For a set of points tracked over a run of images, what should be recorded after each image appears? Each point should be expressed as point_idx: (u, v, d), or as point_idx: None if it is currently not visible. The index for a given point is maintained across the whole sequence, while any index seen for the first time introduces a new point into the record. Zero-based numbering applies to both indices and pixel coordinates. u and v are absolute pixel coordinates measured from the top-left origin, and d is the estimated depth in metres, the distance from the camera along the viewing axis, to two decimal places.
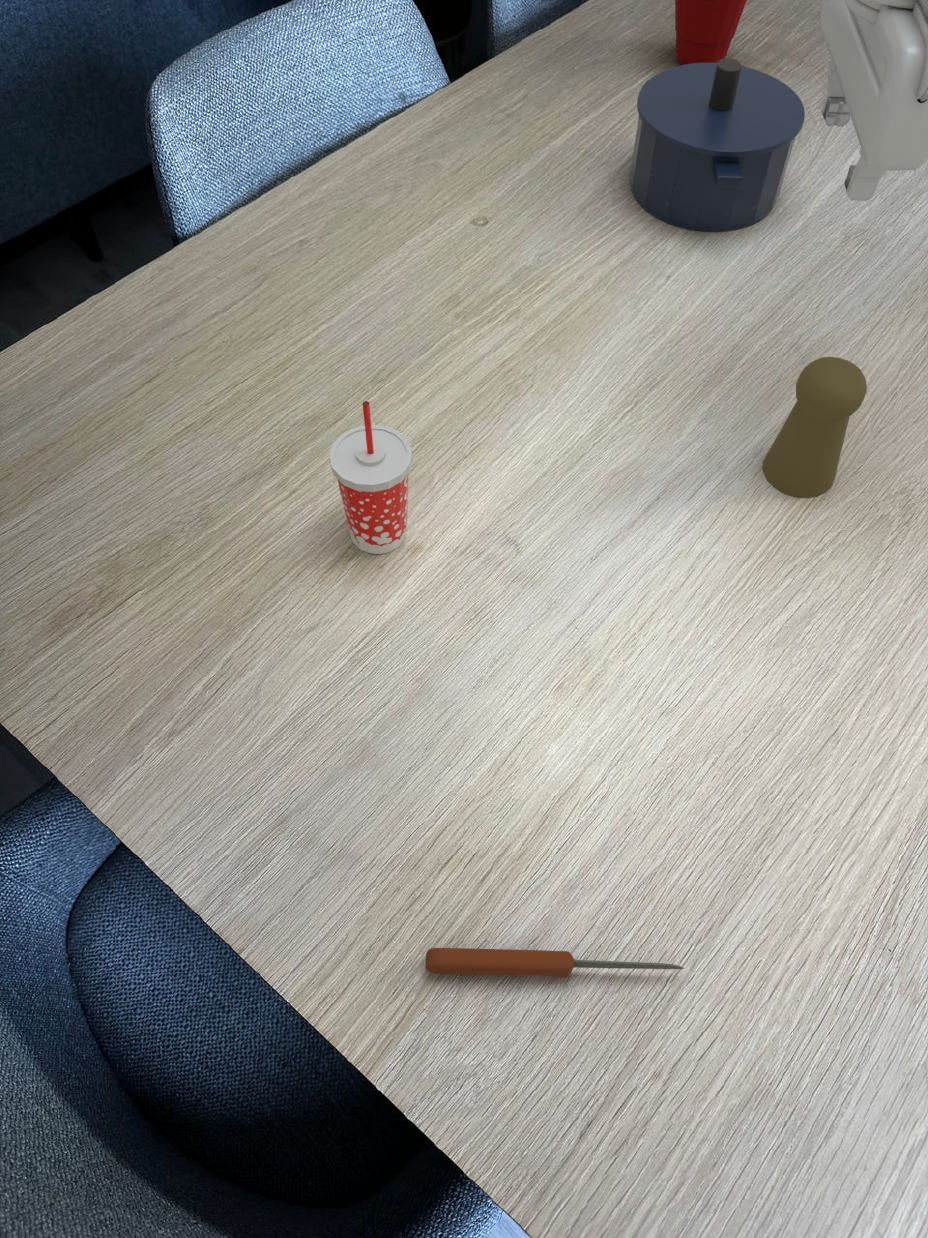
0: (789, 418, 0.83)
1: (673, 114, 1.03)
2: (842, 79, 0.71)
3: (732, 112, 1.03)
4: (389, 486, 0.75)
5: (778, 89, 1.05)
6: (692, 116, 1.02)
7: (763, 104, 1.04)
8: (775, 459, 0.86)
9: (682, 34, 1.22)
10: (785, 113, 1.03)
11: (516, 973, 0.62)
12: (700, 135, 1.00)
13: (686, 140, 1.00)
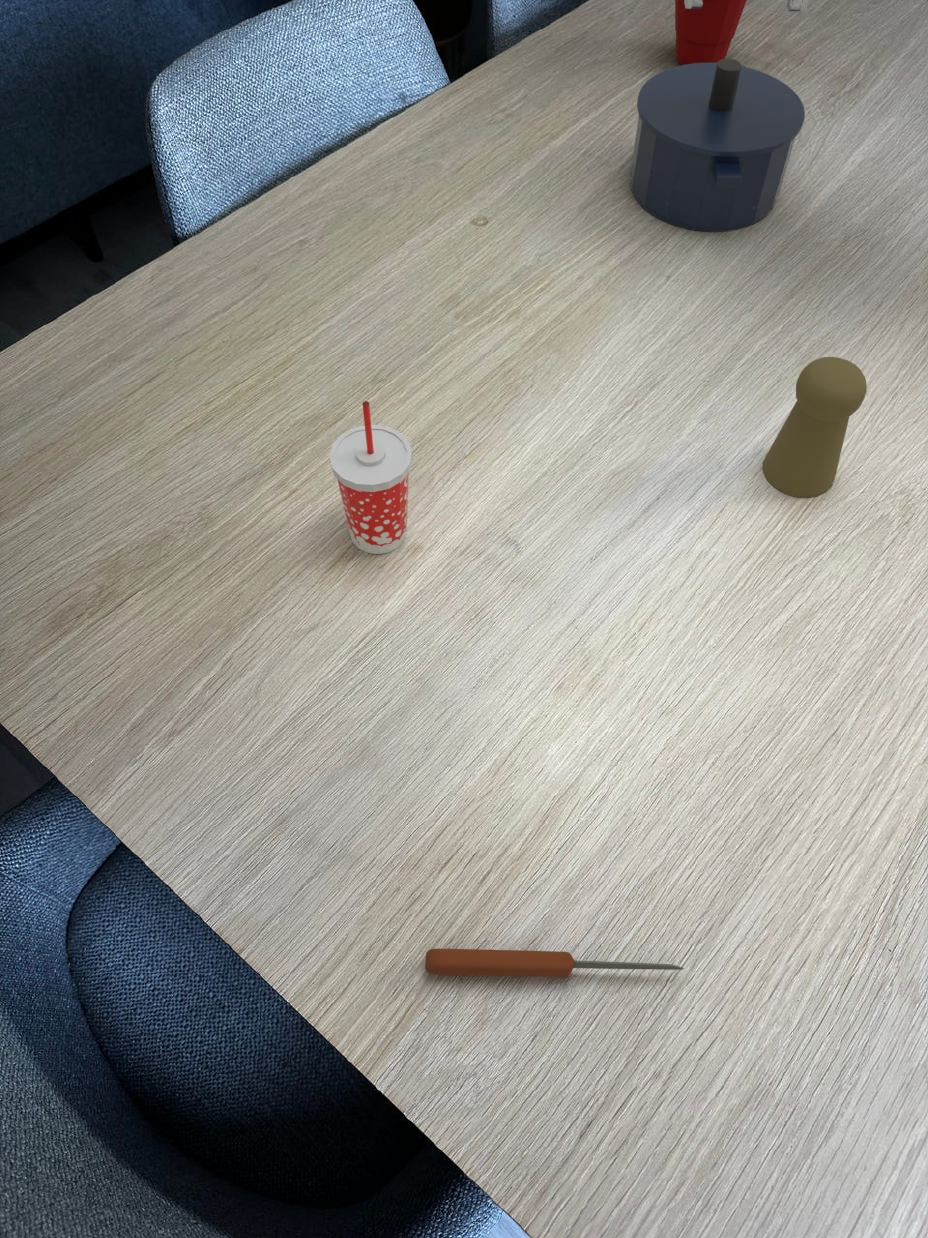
0: (789, 418, 0.83)
1: (673, 114, 1.03)
2: None
3: (732, 112, 1.03)
4: (389, 486, 0.75)
5: (778, 89, 1.05)
6: (692, 116, 1.02)
7: (763, 104, 1.04)
8: (775, 459, 0.86)
9: (682, 34, 1.22)
10: (785, 113, 1.03)
11: (516, 974, 0.62)
12: (700, 135, 1.00)
13: (686, 140, 1.00)
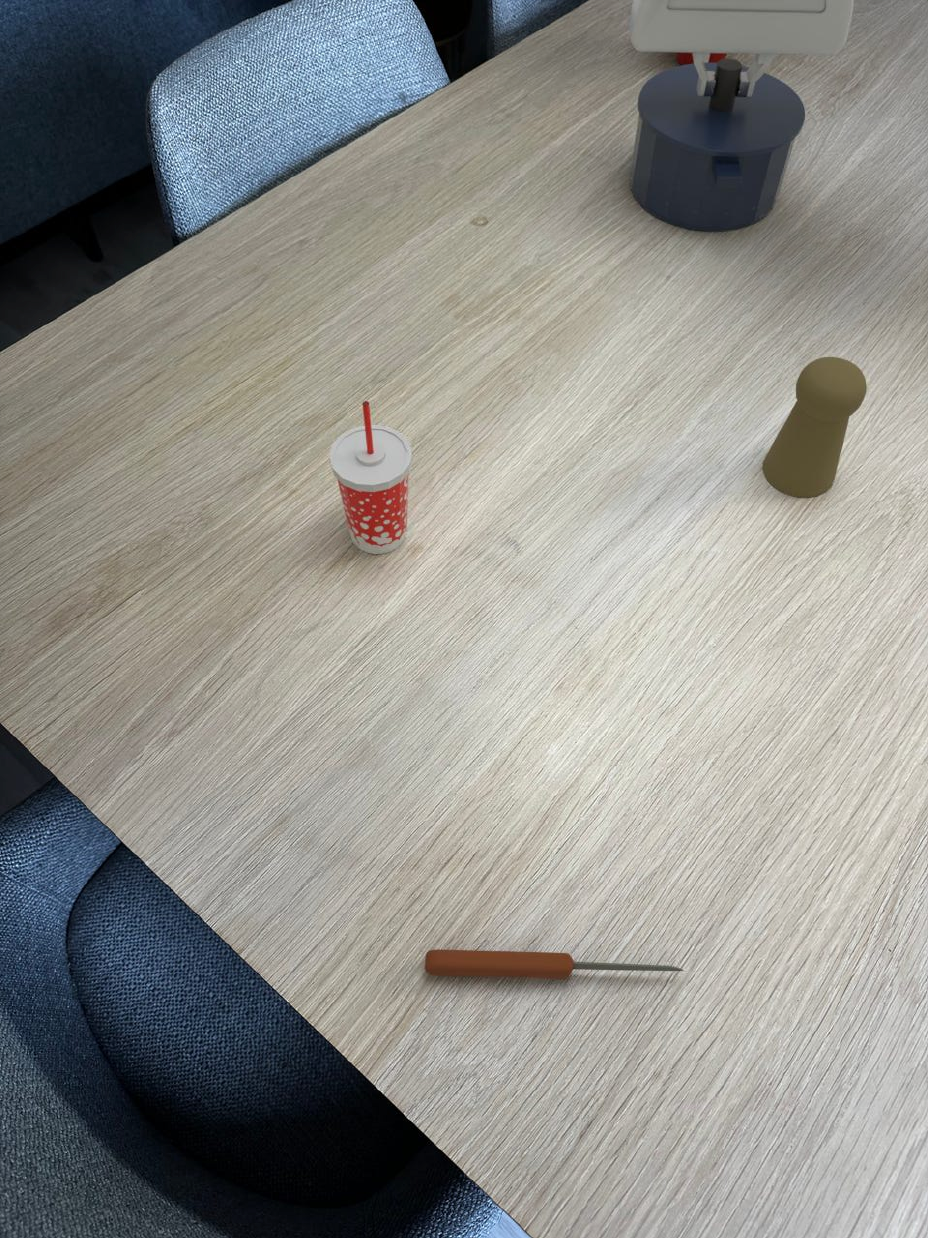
0: (789, 418, 0.83)
1: (674, 114, 1.03)
2: (736, 46, 0.97)
3: (732, 112, 1.03)
4: (389, 486, 0.75)
5: (778, 89, 1.05)
6: (693, 116, 1.02)
7: (763, 104, 1.04)
8: (775, 459, 0.86)
9: None
10: (785, 113, 1.03)
11: (515, 975, 0.62)
12: (700, 135, 1.00)
13: (686, 140, 1.00)
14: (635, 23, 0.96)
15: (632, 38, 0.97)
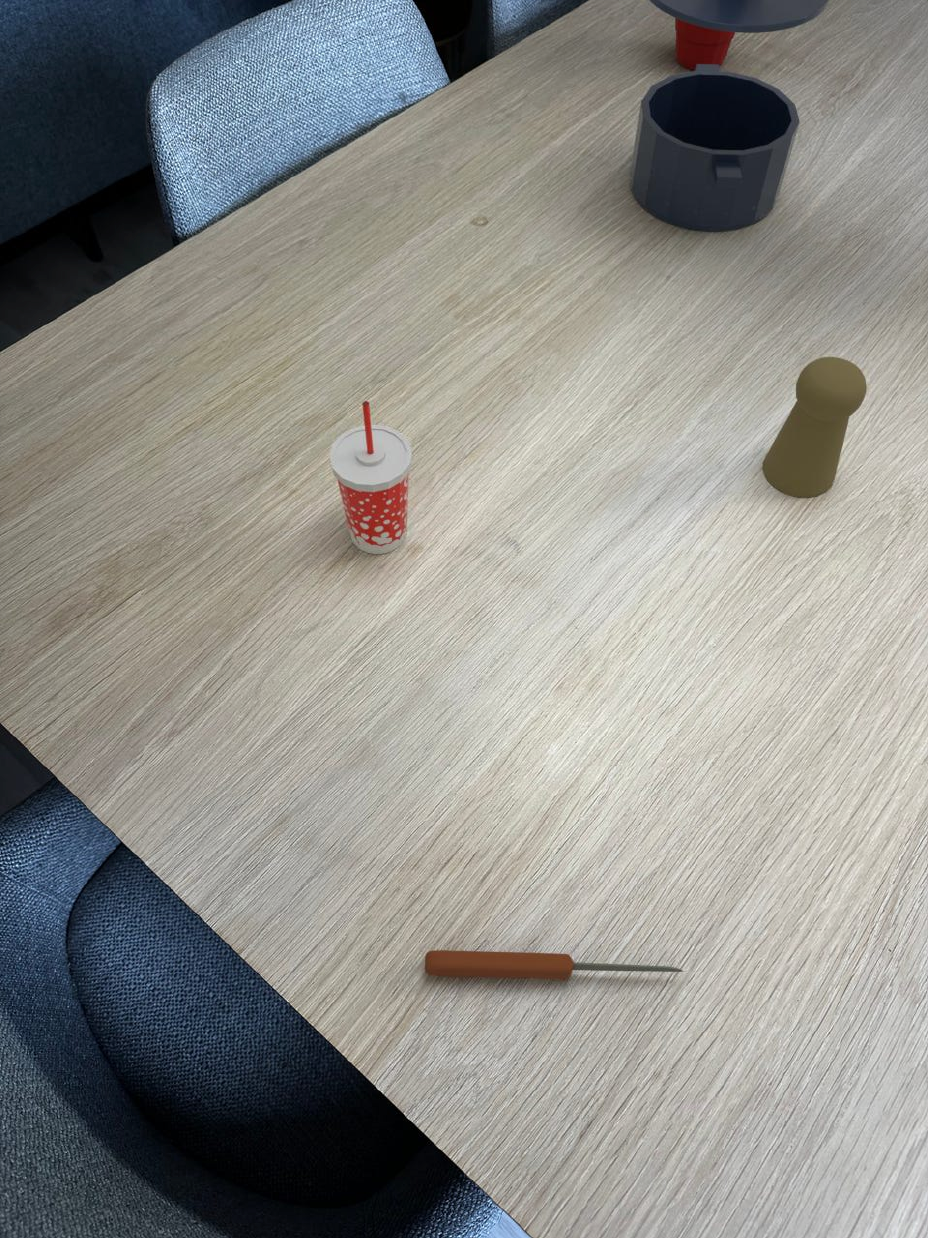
0: (789, 418, 0.83)
1: None
2: None
3: None
4: (389, 486, 0.75)
5: None
6: None
7: None
8: (775, 459, 0.86)
9: (682, 34, 1.22)
10: None
11: (515, 976, 0.62)
12: (712, 9, 0.88)
13: (696, 14, 0.88)
14: None
15: None
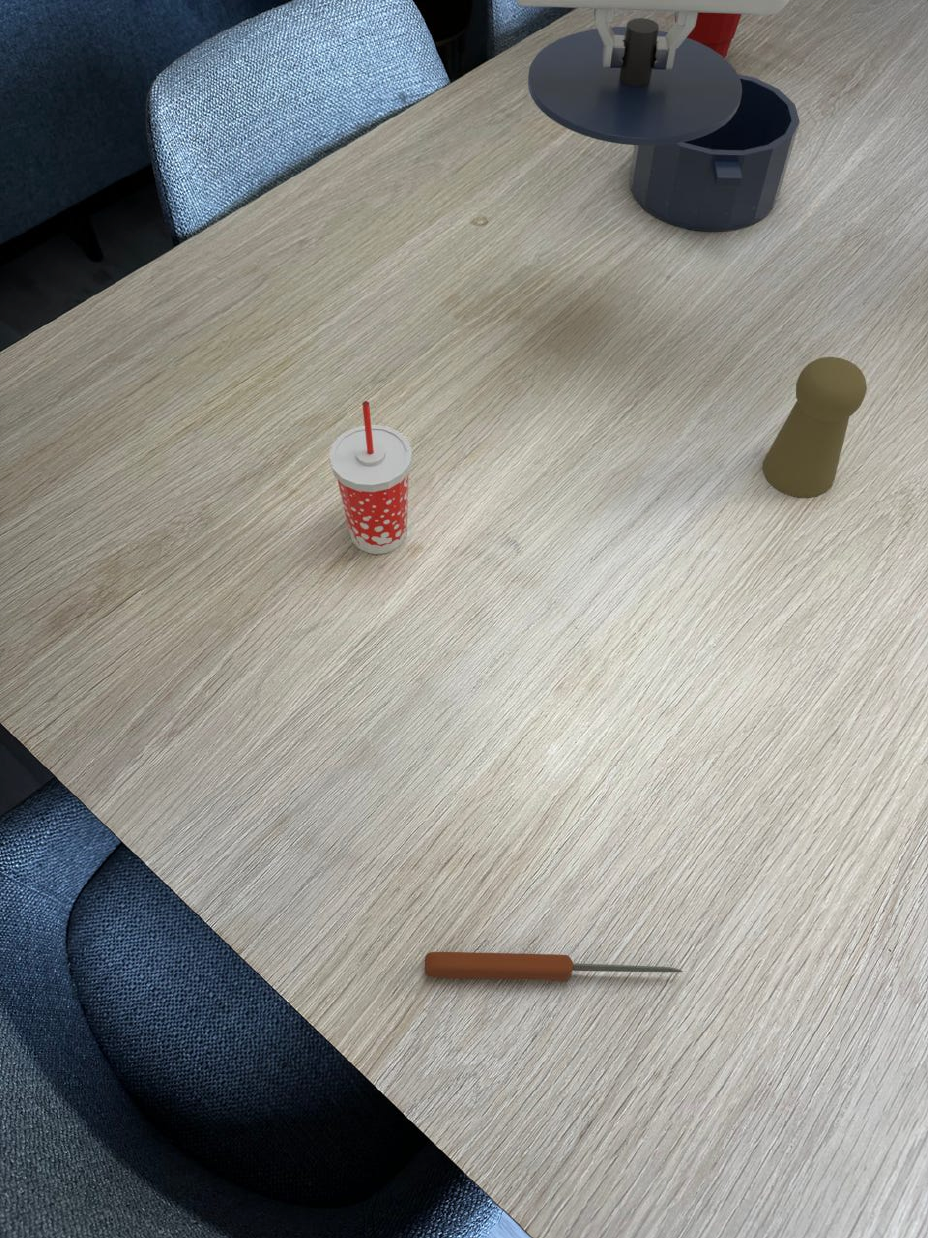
0: (789, 418, 0.83)
1: (572, 90, 0.80)
2: (647, 0, 0.74)
3: (648, 88, 0.80)
4: (389, 486, 0.75)
5: (710, 60, 0.82)
6: (596, 93, 0.79)
7: (689, 79, 0.81)
8: (775, 459, 0.86)
9: None
10: (716, 91, 0.80)
11: (515, 977, 0.62)
12: (603, 117, 0.77)
13: (585, 123, 0.77)
14: None
15: None
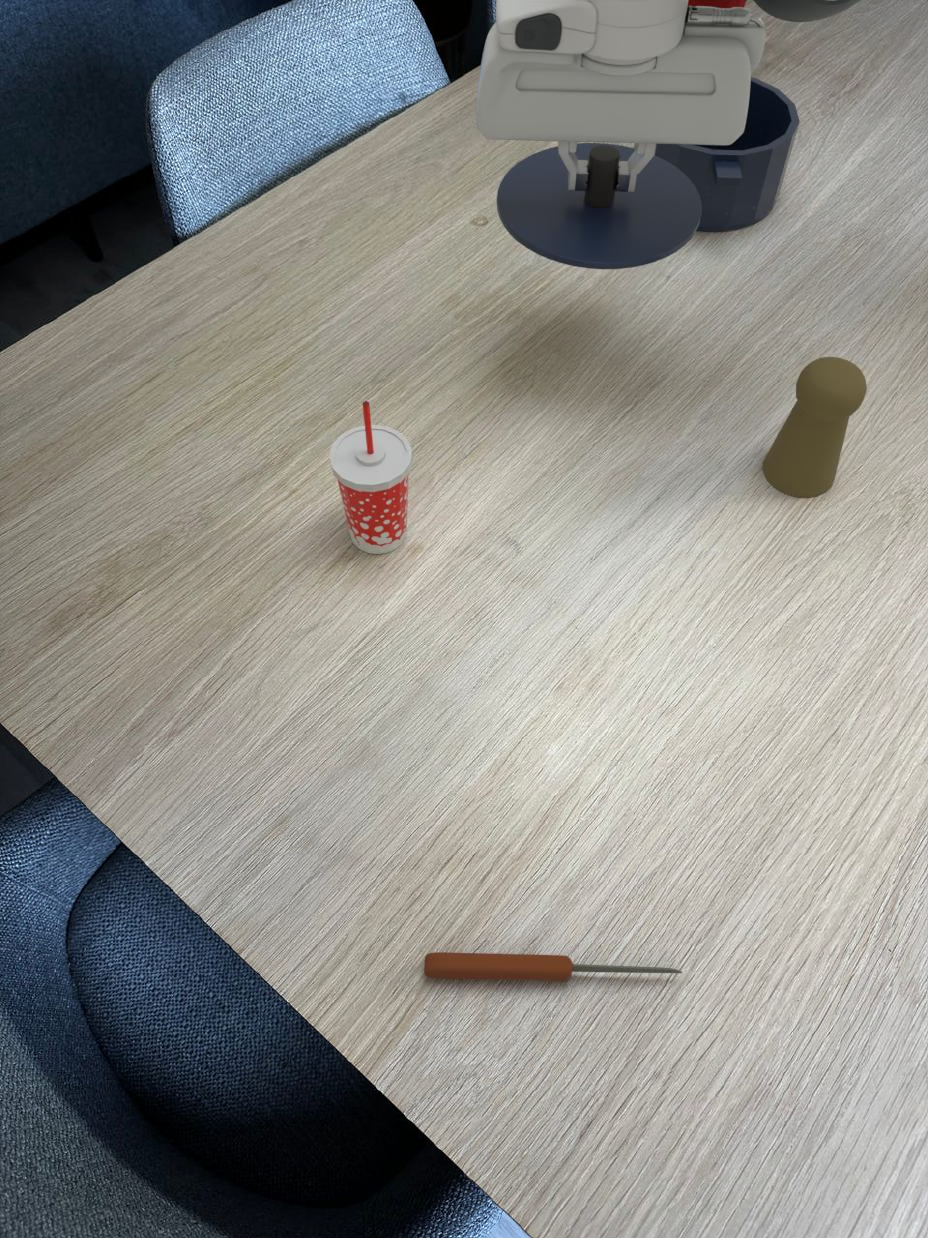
0: (789, 418, 0.83)
1: (539, 212, 0.83)
2: (607, 134, 0.78)
3: (612, 209, 0.83)
4: (389, 486, 0.75)
5: (672, 178, 0.86)
6: (562, 215, 0.83)
7: (651, 198, 0.84)
8: (775, 459, 0.86)
9: None
10: (677, 211, 0.83)
11: (515, 977, 0.62)
12: (568, 241, 0.81)
13: (550, 248, 0.80)
14: (478, 107, 0.76)
15: (477, 124, 0.77)
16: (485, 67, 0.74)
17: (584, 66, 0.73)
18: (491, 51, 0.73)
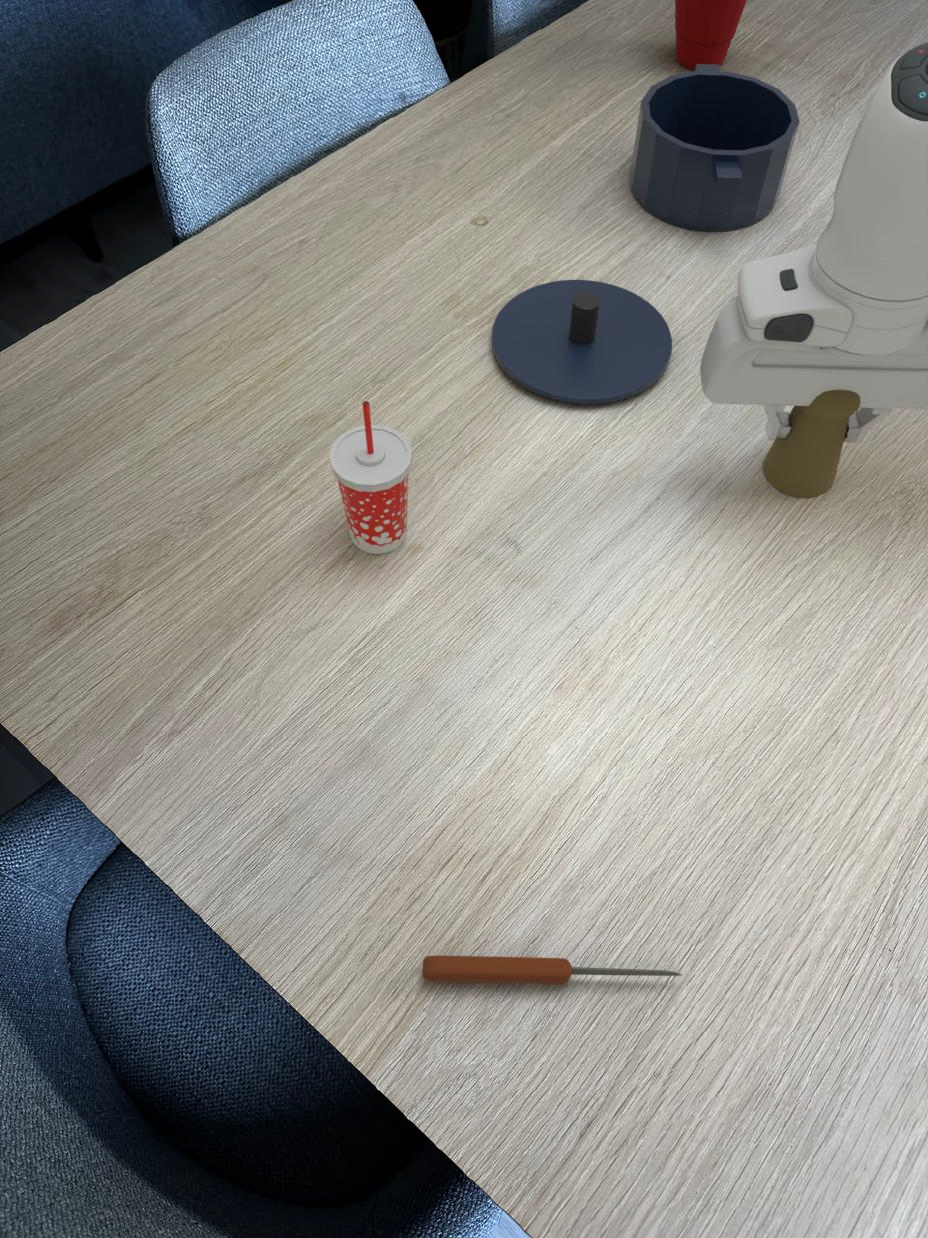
0: (789, 418, 0.83)
1: (529, 349, 0.94)
2: None
3: (593, 346, 0.95)
4: (389, 486, 0.75)
5: (646, 315, 0.97)
6: (549, 352, 0.94)
7: (628, 335, 0.96)
8: (775, 459, 0.86)
9: (682, 34, 1.22)
10: (650, 347, 0.95)
11: (513, 981, 0.62)
12: (554, 378, 0.92)
13: (538, 384, 0.92)
14: (711, 379, 0.77)
15: (706, 392, 0.79)
16: (725, 349, 0.75)
17: (824, 349, 0.75)
18: (733, 336, 0.74)
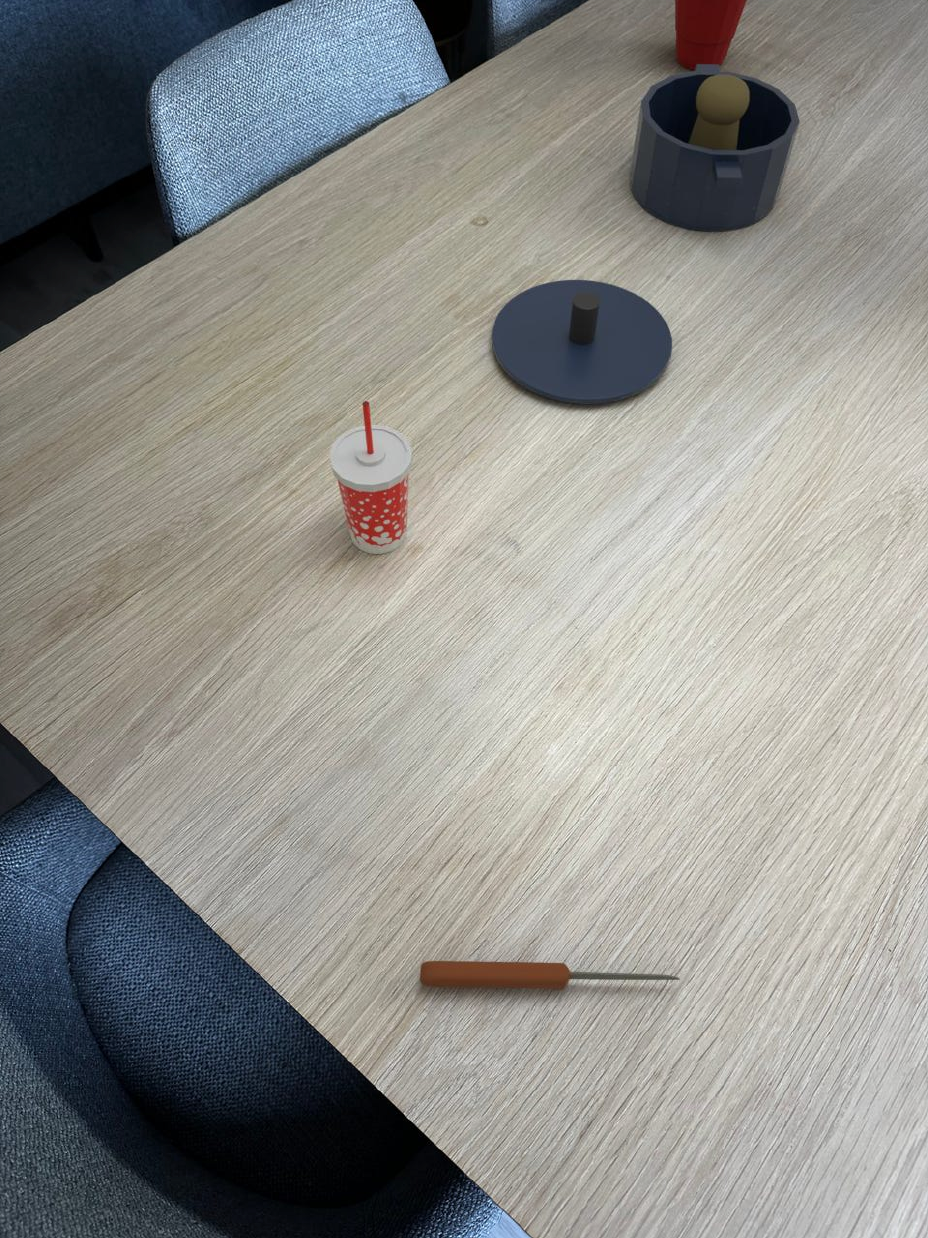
0: (693, 130, 1.06)
1: (529, 349, 0.94)
2: None
3: (593, 346, 0.95)
4: (389, 486, 0.75)
5: (646, 315, 0.97)
6: (549, 352, 0.94)
7: (628, 335, 0.96)
8: None
9: (682, 34, 1.22)
10: (650, 347, 0.95)
11: (511, 986, 0.62)
12: (554, 378, 0.92)
13: (538, 384, 0.92)
14: None
15: None
16: None
17: None
18: None
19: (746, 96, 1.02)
